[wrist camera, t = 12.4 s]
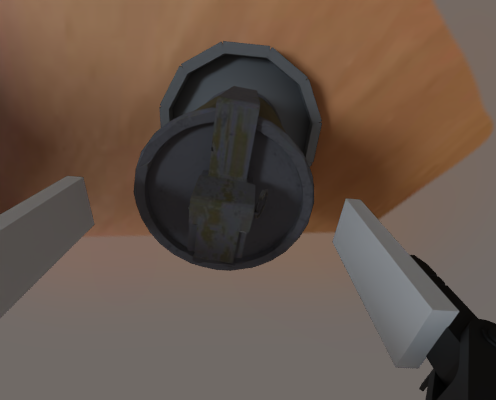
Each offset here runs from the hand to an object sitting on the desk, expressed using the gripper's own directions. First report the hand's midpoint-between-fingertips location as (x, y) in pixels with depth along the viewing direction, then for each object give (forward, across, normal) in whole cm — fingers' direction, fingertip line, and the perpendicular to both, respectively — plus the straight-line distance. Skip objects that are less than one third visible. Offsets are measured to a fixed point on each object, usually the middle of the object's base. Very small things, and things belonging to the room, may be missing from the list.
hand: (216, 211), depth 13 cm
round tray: (+20, +1, 0) cm, 20 cm away
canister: (+19, +1, 0) cm, 19 cm away
